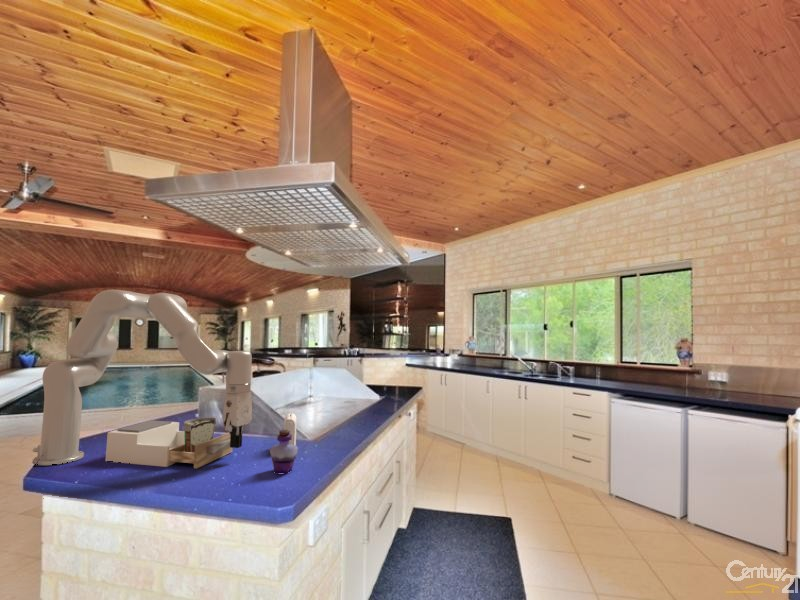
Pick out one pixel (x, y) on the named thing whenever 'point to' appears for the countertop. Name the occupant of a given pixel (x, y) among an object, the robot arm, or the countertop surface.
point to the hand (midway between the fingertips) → (235, 446)
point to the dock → (144, 443)
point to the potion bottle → (283, 453)
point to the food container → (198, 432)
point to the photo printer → (291, 426)
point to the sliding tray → (202, 451)
